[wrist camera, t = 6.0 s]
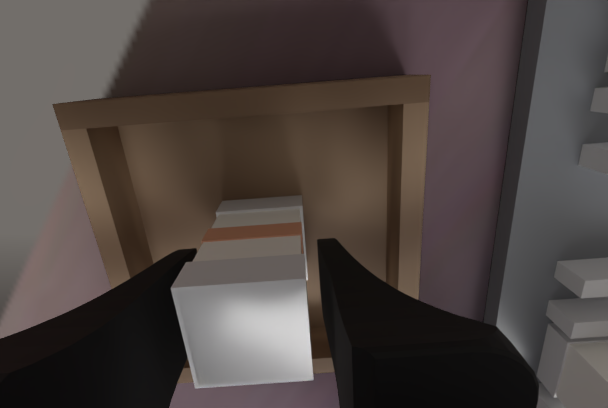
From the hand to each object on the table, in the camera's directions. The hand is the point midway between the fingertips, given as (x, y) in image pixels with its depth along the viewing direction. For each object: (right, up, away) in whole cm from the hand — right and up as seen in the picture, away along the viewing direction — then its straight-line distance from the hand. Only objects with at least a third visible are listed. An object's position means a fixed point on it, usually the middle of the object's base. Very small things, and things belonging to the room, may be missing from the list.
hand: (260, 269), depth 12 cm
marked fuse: (0, +1, +3) cm, 3 cm away
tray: (0, +1, +3) cm, 3 cm away
